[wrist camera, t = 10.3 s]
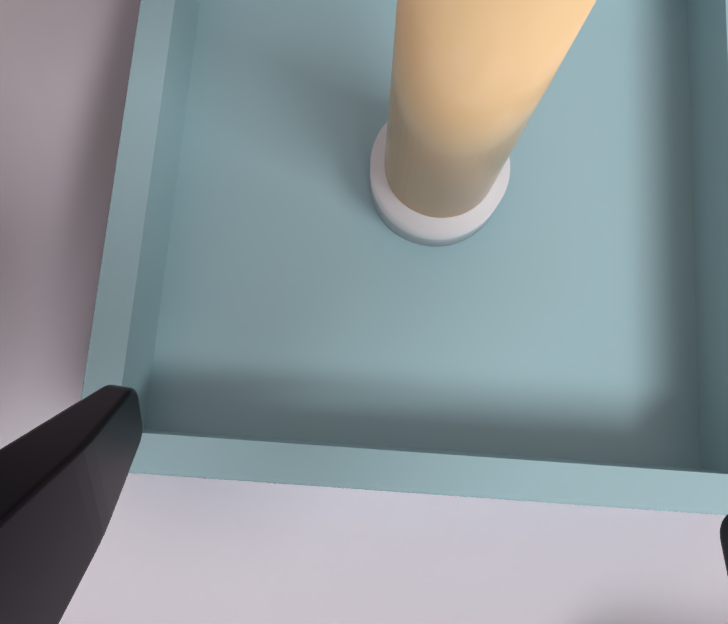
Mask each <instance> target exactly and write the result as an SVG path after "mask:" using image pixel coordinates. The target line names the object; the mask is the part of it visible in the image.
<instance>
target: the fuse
mask: <svg viewBox="0 0 728 624" xmlns="http://www.w3.org/2000/svg"><path fill="white" fill-rule="evenodd" d="M595 2H596V0H397V8H396V21H395V33H394V46H393V59H392V71H391V84H390V96H389V109H388V121H387V123H386V124H385V125H384V126H383V127H382V129H381V130H380V132H379V134H378V135H377V137H376V140H375V142H374V145H373V148H372V152H371V159H370V193H371V198H372V202H373V205H374V207H375V210H376V212H377V213H378V215H379V217H380V218H381V220H382V221H383V222H384V223H385V225H386V226H387V227H388V228H389V229H390V230H391V231H393V232H394V233H395V234H397V235H398V236H400V237H401V238H403V239H405V240H407V241H410V242H412V243H415V244H419V245H423V246H430V247H440V246H448V245H452V244H456V243H459V242H461V241H464V240H466V239H467V238H469V237H471V236H472V235H474V234H475V233H476V232H478V231H479V230H480V229H481V228H482V227H483V226H484V225H485V223H486V222H487V221H488V220H489V218H490V216H491V215H492V213H493V212H494V210H495V209H496V207H497V205H498V204H499V202H500V201H501V199H502V197H503V195H504V193H505V191H506V188H507V186H508V182H509V177H510V158H509V156H510V154H511V152H512V150H513V149H514V147H515V145H516V143H517V141H518V140H519V138H520V136H521V134H522V132H523V131H524V129H525V127H526V125H527V124H528V122H529V120H530V118H531V116H532V115H533V113H534V111H535V109H536V107H537V106H538V104H539V102H540V100H541V99H542V97H543V95H544V93H545V91H546V90H547V88H548V86H549V84H550V82H551V81H552V79H553V77H554V75H555V74H556V72H557V70H558V68H559V66H560V65H561V63H562V61H563V59H564V57H565V56H566V54H567V52H568V50H569V49H570V47H571V45H572V43H573V41H574V40H575V38H576V36H577V34H578V32H579V31H580V29H581V27H582V25H583V24H584V22H585V20H586V18H587V16H588V15H589V13H590V11H591V9H592V7H593V6H594V4H595Z"/></svg>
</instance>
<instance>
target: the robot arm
mask: <svg viewBox="0 0 728 624" xmlns="http://www.w3.org/2000/svg"><path fill="white" fill-rule="evenodd" d="M142 432H143V426H142V418H141V412H140V405H139V398H138V394H137V392H136V390H135V389H133V388H131V387H124V386H118V385H106V386H104V387H102V388H100V389H98V390H97V391H95V392H93V393H92V394H90V395H89V396H87V397H85V398H84V399H82V400H80V401H79V402H77V403H75V404H74V405H72V406H71V407H69V408H67V409H66V410H64V411H62V412H61V413H59V414H57V415H56V416H54V417H53V418H51V419H49V420H48V421H46V422H44V423H43V424H41V425H39V426H38V427H36V428H35V429H33V430H31V431H30V432H28V433H26V434H25V435H23V436H21V437H20V438H18V439H17V440H15V441H13V442H12V443H10V444H8V445H7V446H5V447H3V448H2V449H0V624H59V622H60V620H61V618H62V616H63V614H64V612H65V610H66V608H67V606H68V604H69V603H70V601H71V599H72V597H73V595H74V593H75V591H76V589H77V587H78V585H79V583H80V581H81V579H82V578H83V576H84V574H85V572H86V570H87V568H88V566H89V564H90V562H91V560H92V558H93V556H94V554H95V552H96V551H97V548H98V546H99V544H100V542H101V540H102V538H103V536H104V534H105V531H106V529H107V527H108V524H109V522H110V519H111V517H112V514H113V512H114V509H115V506H116V504H117V501H118V499H119V496H120V493H121V491H122V488H123V486H124V483H125V481H126V478H127V475H128V473H129V470H130V468H131V465H132V462H133V460H134V457H135V455H136V452H137V449H138V447H139V444H140V441H141V438H142ZM720 540H721V545H722V550H723V555H724V560H725V565H726V570H727V575H728V514H727V515H726V517H725V518H724V520H723V521H722V524H721V528H720Z"/></svg>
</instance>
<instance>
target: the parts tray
mask: <svg viewBox="0 0 728 624" xmlns="http://www.w3.org/2000/svg"><path fill="white" fill-rule="evenodd" d="M396 8H397V0H141V2H140V9H139V15H138V22H137V29H136V35H135V42H134V49H133V55H132V62H131V69H130V75H129V82H128V89H127V95H126V102H125V109H124V115H123V122H122V129H121V135H120V142H119V149H118V155H117V162H116V169H115V176H114V182H113V189H112V196H111V202H110V209H109V216H108V222H107V229H106V236H105V242H104V249H103V256H102V262H101V269H100V276H99V282H98V289H97V296H96V302H95V309H94V316H93V322H92V329H91V336H90V342H89V349H88V356H87V363H86V369H85V376H84V383H83V389H82V396H81V400H82V399H84V398H85V397H87V396H89V395H90V394H92V393H93V392H95V391H97V390H98V389H100V388H102V387H104V386H106V385H118V386H124V387H131V388H133V389H135V390H136V392H137V394H138V398H139V405H140V412H141V418H142V426H143V432H142V438H141V441H140V444H139V447H138V449H137V452H136V455H135V457H134V460H133V462H132V465H131V468H130V470H129V473H141V474H155V475H169V476H183V477H197V478H211V479H225V480H239V481H253V482H267V483H281V484H295V485H309V486H323V487H337V488H351V489H365V490H379V491H393V492H407V493H421V494H435V495H449V496H463V497H477V498H491V499H505V500H519V501H533V502H547V503H561V504H575V505H589V506H603V507H617V508H631V509H645V510H659V511H673V512H687V513H701V514H715V515H727V514H728V0H596V2H595V4H594V6H593V7H592V9H591V11H590V13H589V15H588V16H587V18H586V20H585V22H584V24H583V25H582V27H581V29H580V31H579V32H578V34H577V36H576V38H575V40H574V41H573V43H572V45H571V47H570V49H569V50H568V52H567V54H566V56H565V57H564V59H563V61H562V63H561V65H560V66H559V68H558V70H557V72H556V74H555V75H554V77H553V79H552V81H551V82H550V84H549V86H548V88H547V90H546V91H545V93H544V95H543V97H542V99H541V100H540V102H539V104H538V106H537V107H536V109H535V111H534V113H533V115H532V116H531V118H530V120H529V122H528V124H527V125H526V127H525V129H524V131H523V132H522V134H521V136H520V138H519V140H518V141H517V143H516V145H515V147H514V149H513V150H512V152H511V154H510V156H509V158H510V177H509V182H508V186H507V188H506V191H505V193H504V195H503V197H502V199H501V201H500V202H499V204H498V205H497V207H496V209H495V210H494V212H493V213H492V215H491V216H490V218H489V220H488V221H487V222H486V223H485V225H484V226H483V227H482V228H481V229H480V230H479V231H478V232H476V233H475V234H474V235H472V236H471V237H469V238H467V239H466V240H464V241H461V242H459V243H456V244H452V245H448V246H440V247H430V246H423V245H419V244H415V243H412V242H410V241H407V240H405V239H403V238H401V237H400V236H398V235H397V234H395V233H394V232H393V231H391V230H390V229H389V228H388V227H387V226H386V225H385V223H384V222H383V221H382V220H381V218H380V217H379V215H378V213H377V212H376V210H375V207H374V205H373V202H372V198H371V193H370V159H371V152H372V148H373V145H374V142H375V140H376V137H377V135H378V134H379V132H380V130H381V129H382V127H383V126H384V125H385V124H386V123H387V121H388V109H389V96H390V84H391V71H392V59H393V46H394V33H395V21H396Z"/></svg>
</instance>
